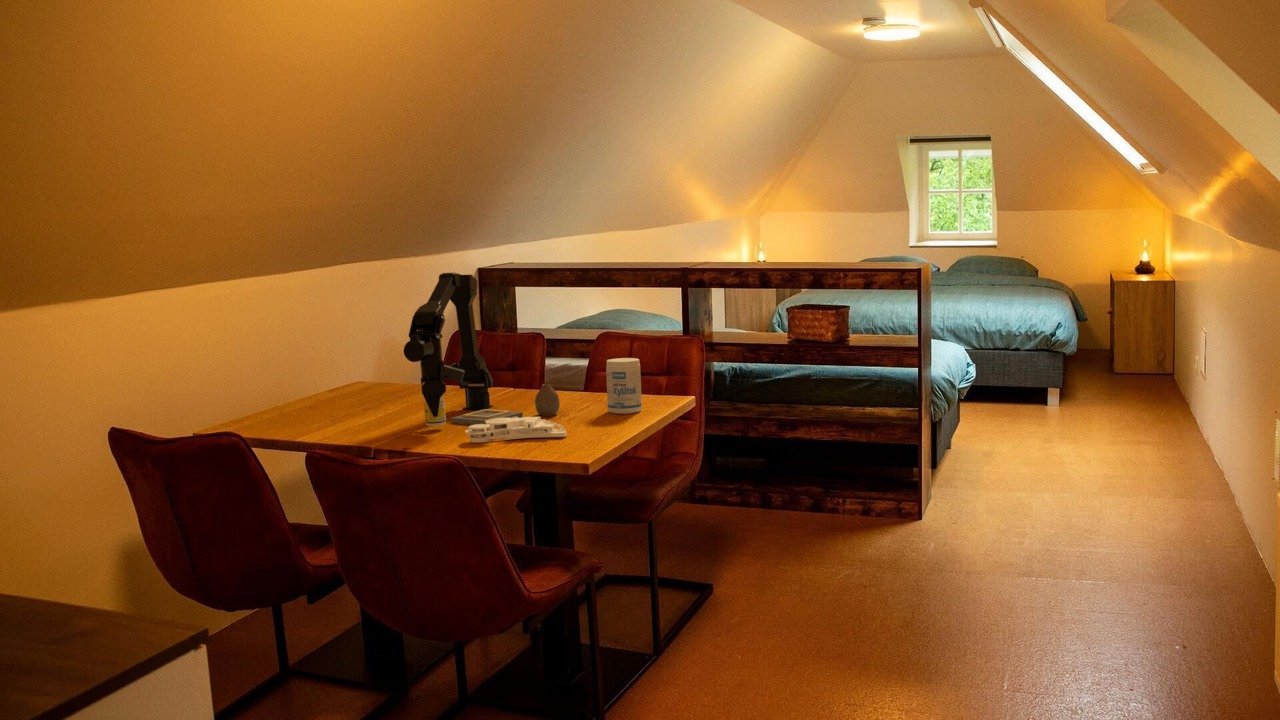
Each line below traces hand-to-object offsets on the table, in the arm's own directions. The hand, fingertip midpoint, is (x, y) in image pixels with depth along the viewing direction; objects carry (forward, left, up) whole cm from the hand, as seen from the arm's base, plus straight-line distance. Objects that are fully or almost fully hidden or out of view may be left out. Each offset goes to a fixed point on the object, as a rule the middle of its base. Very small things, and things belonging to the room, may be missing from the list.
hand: (435, 415), depth 296 cm
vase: (+16, +28, -4) cm, 33 cm away
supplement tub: (+34, +40, -4) cm, 53 cm away
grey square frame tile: (+4, +16, -4) cm, 17 cm away
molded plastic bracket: (+25, +6, -5) cm, 26 cm away
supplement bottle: (0, 0, -3) cm, 3 cm away
